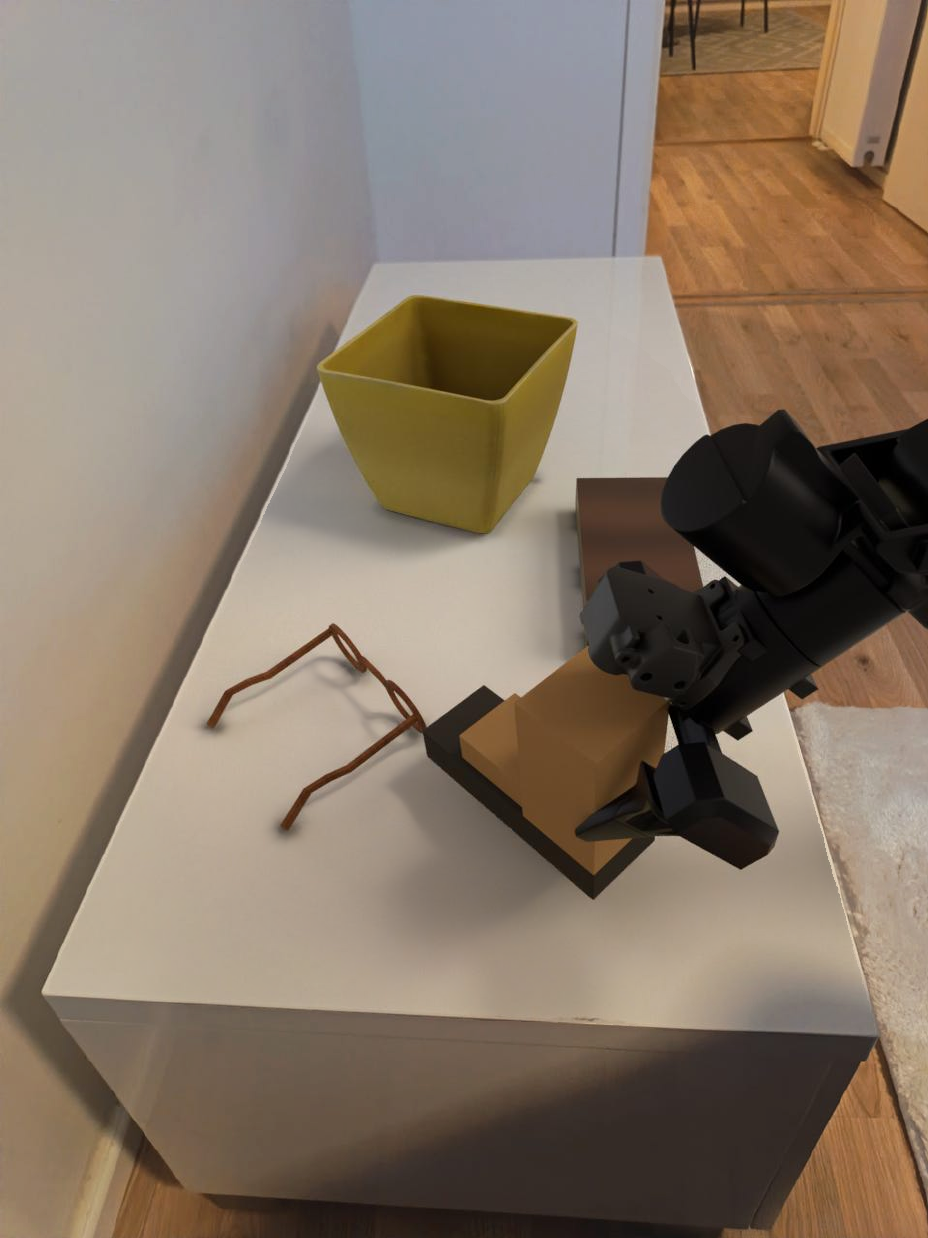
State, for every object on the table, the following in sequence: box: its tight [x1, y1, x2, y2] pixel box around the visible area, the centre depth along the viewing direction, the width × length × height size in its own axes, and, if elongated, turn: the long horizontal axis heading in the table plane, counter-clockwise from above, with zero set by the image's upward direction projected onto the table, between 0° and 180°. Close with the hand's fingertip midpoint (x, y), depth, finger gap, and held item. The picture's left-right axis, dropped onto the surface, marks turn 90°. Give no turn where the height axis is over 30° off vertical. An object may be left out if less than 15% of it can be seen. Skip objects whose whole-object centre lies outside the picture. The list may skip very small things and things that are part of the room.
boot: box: [422, 646, 670, 901], centre depth 55 cm, size 16×6×14 cm, turn 42°
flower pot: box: [316, 294, 579, 534], centre depth 88 cm, size 19×19×17 cm
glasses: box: [206, 622, 428, 831], centre depth 67 cm, size 13×13×5 cm
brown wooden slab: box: [574, 476, 704, 647], centre depth 80 cm, size 22×10×4 cm, turn 177°
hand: (567, 773), depth 52 cm, fingers closed on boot, 8 cm apart
